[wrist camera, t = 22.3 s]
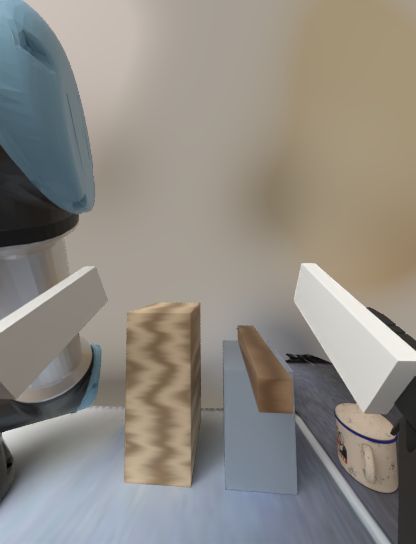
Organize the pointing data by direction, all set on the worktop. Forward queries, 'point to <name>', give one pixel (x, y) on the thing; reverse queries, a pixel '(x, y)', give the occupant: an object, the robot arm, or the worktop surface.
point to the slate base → (255, 433)
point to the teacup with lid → (367, 447)
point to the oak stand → (162, 394)
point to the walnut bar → (265, 373)
